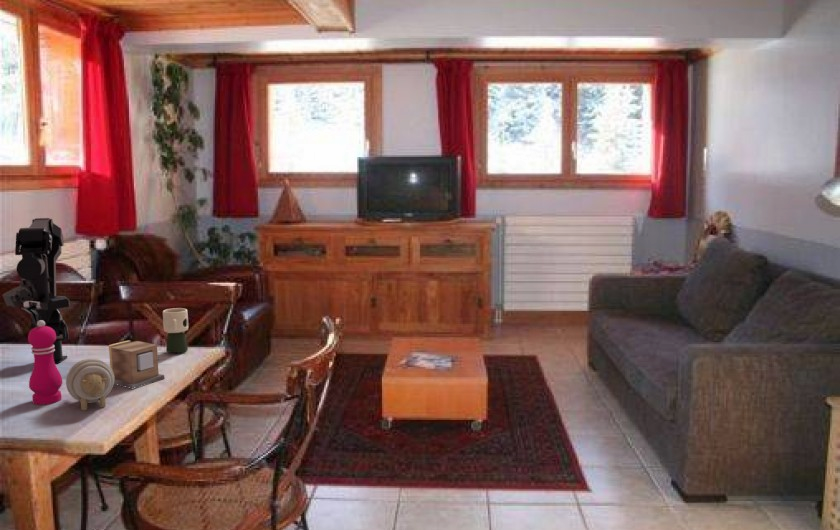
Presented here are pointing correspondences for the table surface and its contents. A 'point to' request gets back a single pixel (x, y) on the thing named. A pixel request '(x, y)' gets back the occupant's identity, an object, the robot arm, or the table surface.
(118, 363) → the wooden drawer box
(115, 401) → the table surface
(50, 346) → the pepper mill
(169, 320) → the character mug
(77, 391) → the toy sheep
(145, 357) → the tan drawer
